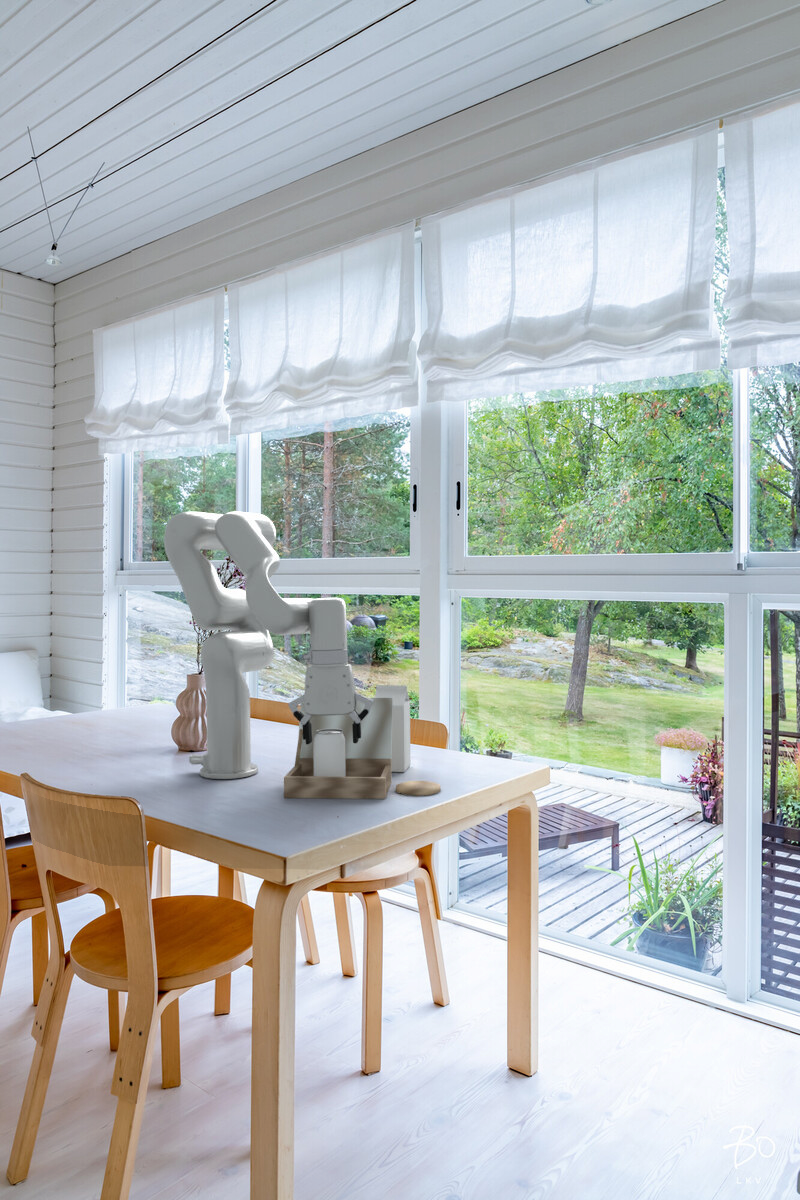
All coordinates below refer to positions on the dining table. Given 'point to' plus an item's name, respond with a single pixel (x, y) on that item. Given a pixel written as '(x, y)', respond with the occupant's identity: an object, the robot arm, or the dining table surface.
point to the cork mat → (418, 788)
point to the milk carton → (398, 724)
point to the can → (329, 753)
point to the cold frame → (347, 757)
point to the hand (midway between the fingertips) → (332, 742)
